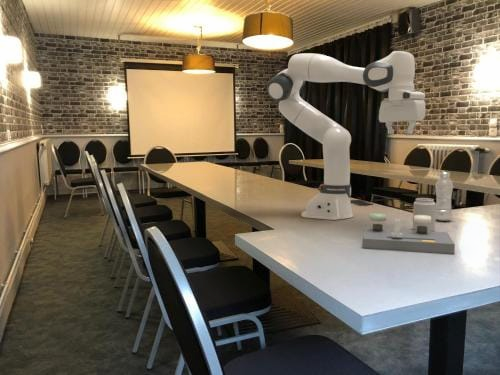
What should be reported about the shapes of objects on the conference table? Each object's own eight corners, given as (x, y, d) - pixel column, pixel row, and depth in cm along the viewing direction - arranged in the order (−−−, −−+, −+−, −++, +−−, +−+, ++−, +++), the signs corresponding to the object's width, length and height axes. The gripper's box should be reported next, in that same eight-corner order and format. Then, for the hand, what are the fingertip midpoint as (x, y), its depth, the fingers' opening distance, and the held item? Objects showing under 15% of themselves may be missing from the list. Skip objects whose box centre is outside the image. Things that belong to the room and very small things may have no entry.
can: (433, 229, 155) (435, 197, 153) (435, 233, 148) (437, 200, 146) (412, 228, 157) (413, 196, 156) (413, 232, 150) (414, 199, 149)
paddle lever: (391, 237, 129) (392, 221, 128) (391, 234, 133) (391, 218, 133) (402, 238, 128) (403, 221, 127) (402, 234, 132) (402, 218, 132)
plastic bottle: (454, 222, 166) (456, 172, 163) (436, 222, 167) (437, 172, 165) (449, 219, 172) (451, 171, 169) (432, 219, 173) (434, 171, 171)
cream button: (414, 222, 135) (414, 217, 134) (413, 219, 139) (413, 214, 139) (431, 223, 133) (431, 218, 133) (430, 220, 138) (430, 215, 138)
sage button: (369, 220, 139) (369, 215, 139) (370, 218, 144) (370, 212, 144) (385, 221, 137) (385, 216, 137) (385, 218, 142) (386, 213, 142)
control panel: (363, 248, 130) (363, 232, 130) (365, 236, 145) (365, 222, 145) (454, 254, 122) (455, 237, 122) (446, 240, 137) (447, 226, 137)
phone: (361, 199, 224) (373, 204, 209) (361, 201, 224) (373, 206, 209) (347, 200, 223) (359, 204, 208) (347, 202, 223) (359, 206, 208)
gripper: (375, 98, 161) (374, 134, 163) (415, 93, 142) (414, 133, 144) (387, 99, 163) (386, 134, 165) (429, 93, 145) (427, 133, 146)
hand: (399, 133), depth 154 cm, fingers open, 8 cm apart
